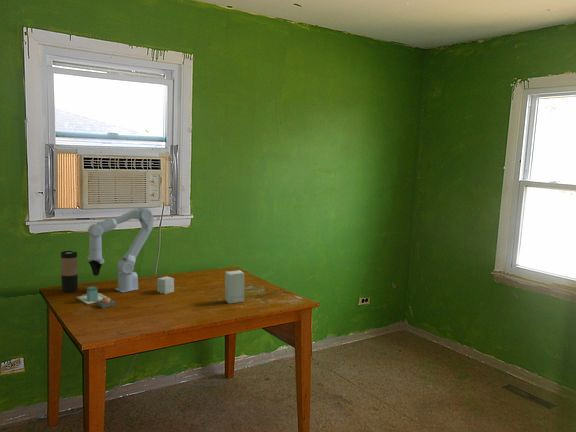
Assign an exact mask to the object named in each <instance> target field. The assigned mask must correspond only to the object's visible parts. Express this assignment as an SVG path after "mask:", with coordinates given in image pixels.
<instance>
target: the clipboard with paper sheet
mask: <svg viewBox="0 0 576 432" xmlns="http://www.w3.org/2000/svg"><path fill="white" fill-rule="evenodd" d="M106 297H108V298H110V299H111V300H113V298H111V297H109V296H107V295H105V294H104V293H101V292H98V300H95V301H89V300H87V293H84V294H81V295H79V296H74V299H75V300H77V301H79V302H81V303H82V304H84V305H86V306H89V304H90V305H95V304H97V301H101V300H102V298H106ZM113 301H114V300H113ZM94 303H95V304H94Z"/></svg>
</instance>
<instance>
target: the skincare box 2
mask: <svg viewBox="0 0 576 432" xmlns="http://www.w3.org/2000/svg"><path fill="white" fill-rule="evenodd" d="M224 286H225V287H224V289H225V290H224V291H225V292H224V293H225V295H224V296H225V297H224V299H225V300H224V301H226V302H227V304H235V303H244V302H245V272H243V271H242V270H240V269H237V270H232V271H224Z"/></svg>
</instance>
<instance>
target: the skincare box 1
mask: <svg viewBox="0 0 576 432" xmlns="http://www.w3.org/2000/svg"><path fill="white" fill-rule="evenodd" d="M159 292H160V294H163V293H164V295H167V294H170V293H174V292H175V278H174V277H170V276H162V277H158V278H157V293H159Z"/></svg>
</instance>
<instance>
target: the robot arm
mask: <svg viewBox="0 0 576 432" xmlns="http://www.w3.org/2000/svg"><path fill="white" fill-rule="evenodd" d="M154 216H155V215H154V214H153V212H152V210H150V209H148V208H145V207H143V206H141V207H138V208H134V209H132V210H130V211H128V212H126V213H123V214H122V215H118V217H115V218H113V217H106V218H105V219H104V220H102V221H100V222H99V221H97V222H96V224H95V223H94V224H90V225H89V226H88V228H87V232H88V234H89V237H88V238H89V240H88V241H89V244H88V246H89V254H88V255H87V258H86V259H87V260H89V261H88V264H89V265H90V267H91V272H92V275H93V276H99V275H100V272H101V268H102V266H103V264H105V259H104V258H103V251H102V250H103V249H102V248H103V247H102V245H103V244H102V240H103V239H102V235H103V234H104V233H107V232H109V231H112V230H113V229H116V228H117V226H118V225H121V224H123V223H124V222H127V221H130V220H132V219H133V220H138V221H139V222H140V226H141V227H140V230H139V231H138V233H137V234H136V236H135V237H134V240H133V241H132V243H131V245H130V246H129V248H128V250H127V252H126V253H125V254H124V255H122V257H121V258H119V260H118V261H117V263H116V267H117V269H118V272H117V287H116V288H114V290H116V291H118V292H120V293H126V292H132V291H137V290H140V289H139V277H138V273H137V272H136V271H134V268H135V264H136V262H137V261H136V260H137V256H138V255H139V253H140V252H141V250H142V248H143V246H144V245H145V242H146V241H147V239H149V235H150V234H151V232H152V230H153V228H154V218H155V217H154Z"/></svg>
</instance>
